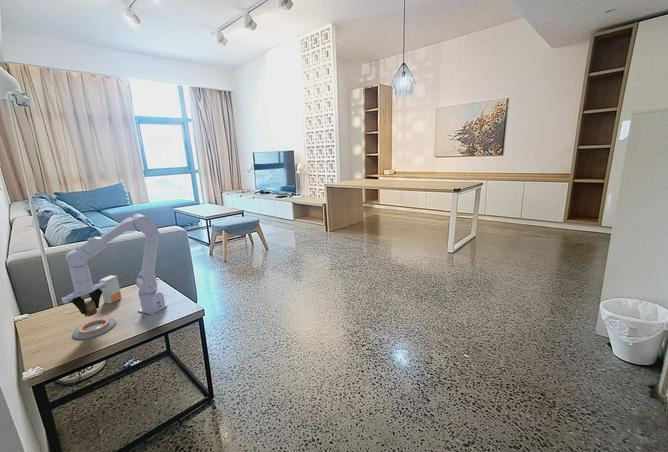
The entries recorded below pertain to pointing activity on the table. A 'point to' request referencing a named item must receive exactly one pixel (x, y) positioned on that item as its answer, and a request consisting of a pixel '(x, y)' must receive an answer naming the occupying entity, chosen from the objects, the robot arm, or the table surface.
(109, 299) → the skincare box
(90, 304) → the brown rounded cylinder
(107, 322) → the ring dish
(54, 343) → the table surface
